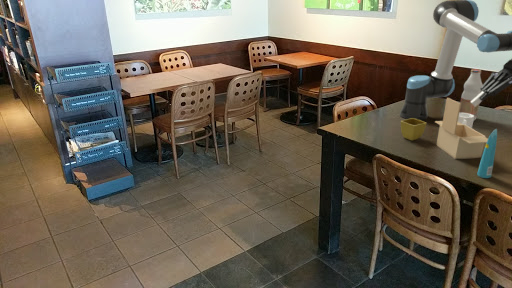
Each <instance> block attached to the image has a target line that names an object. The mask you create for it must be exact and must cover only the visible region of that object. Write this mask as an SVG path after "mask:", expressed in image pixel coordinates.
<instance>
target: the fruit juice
mask: <svg viewBox="0 0 512 288" xmlns="http://www.w3.org/2000/svg"><path fill="white" fill-rule="evenodd" d="M481 74H482V70H481V69H477V68H475V69H473V68H472V69H471V70H470V75H469V77H468V78H467V80H466V81H465V82H464V84H463V92H462V93H461V97H460V102H459V103H460V104H461V107H460V112H459V113H468V114H472V115H474V121H476V120H477V115H478V113H479V111H478V110H479V107H480V103H479V104H478V105H477V106H476V107H475V106H473V105H472V104H471V101H472V100H473V99H474V98H475V97H476V96H477V95H478V94H479V93H480V92H481V89H480V88H481V87H482V85H483V84H484V83H483V82H482V78H481Z"/></svg>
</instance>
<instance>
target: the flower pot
mask: <svg viewBox="0 0 512 288" xmlns="http://www.w3.org/2000/svg"><path fill="white" fill-rule="evenodd" d="M426 126H427V122H425V121H424V120H417V119H415V118H411V119H404V120H400V132H401V135H402V137H403V138H404V139H406V140H409V141H416V140H418V139H419V140H420V138H421V137H422V135H423V134H424V132H425V130H426Z"/></svg>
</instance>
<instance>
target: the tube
mask: <svg viewBox="0 0 512 288" xmlns="http://www.w3.org/2000/svg"><path fill="white" fill-rule="evenodd" d="M487 138H488V141H487V143H485V145H484V148H483V152H482V156H481V158H480V163H479V166H478V170H477V174H476V175H477V177H479V178H481V179H490V178H492V173H493V168H494V163H495V155H496V150H497V142H498V141H497V140H498V129H497V128H495V129H493V131H492V132H491V133H490V134H489V136H488V137H487Z"/></svg>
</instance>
